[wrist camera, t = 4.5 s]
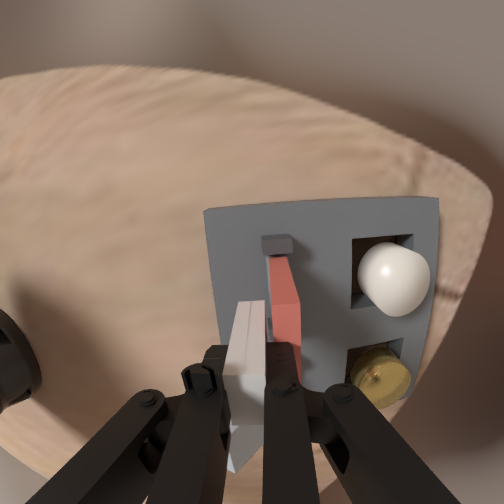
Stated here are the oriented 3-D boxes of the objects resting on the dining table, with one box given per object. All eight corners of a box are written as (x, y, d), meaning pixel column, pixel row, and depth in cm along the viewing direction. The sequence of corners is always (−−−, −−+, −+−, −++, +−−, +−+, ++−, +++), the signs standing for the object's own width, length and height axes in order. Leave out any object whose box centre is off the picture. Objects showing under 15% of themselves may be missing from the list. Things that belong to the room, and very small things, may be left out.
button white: (356, 303, 22) (372, 321, 18) (357, 244, 21) (376, 254, 17) (405, 295, 22) (426, 310, 18) (409, 239, 20) (432, 248, 17)
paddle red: (270, 314, 21) (272, 394, 12) (265, 253, 20) (266, 305, 11) (290, 313, 21) (304, 392, 12) (287, 251, 20) (305, 302, 11)
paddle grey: (281, 401, 24) (221, 466, 16) (279, 362, 23) (209, 430, 15) (296, 406, 23) (237, 474, 16) (296, 366, 22) (228, 440, 14)
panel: (237, 409, 28) (236, 441, 23) (208, 208, 23) (198, 213, 18) (400, 381, 27) (417, 406, 23) (420, 196, 23) (452, 199, 18)
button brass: (347, 392, 24) (357, 414, 20) (352, 352, 23) (365, 374, 19) (390, 381, 24) (404, 401, 20) (398, 342, 23) (415, 361, 19)
